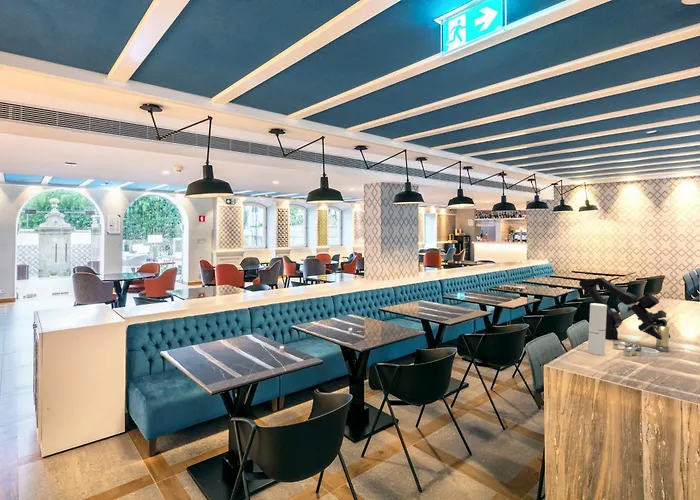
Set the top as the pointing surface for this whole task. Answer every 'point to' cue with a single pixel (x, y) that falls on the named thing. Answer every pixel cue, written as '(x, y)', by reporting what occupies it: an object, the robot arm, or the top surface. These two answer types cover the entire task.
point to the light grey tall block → (597, 329)
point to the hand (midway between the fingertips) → (665, 338)
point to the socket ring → (649, 352)
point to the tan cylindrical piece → (663, 343)
